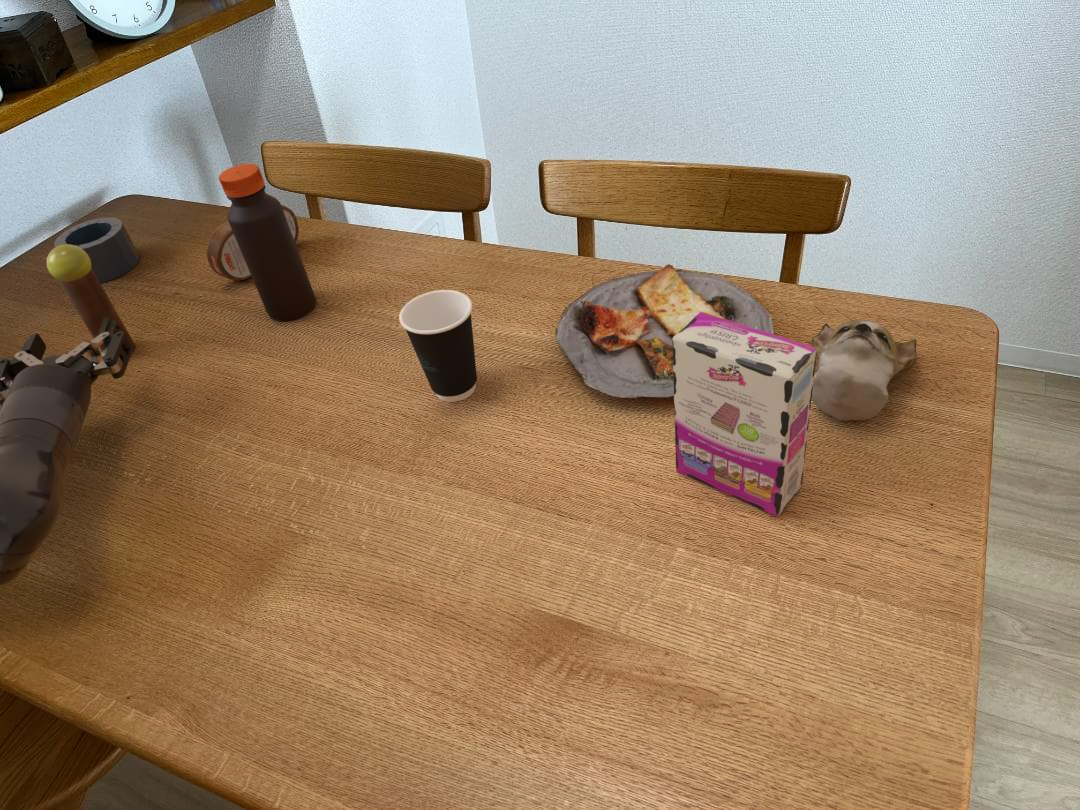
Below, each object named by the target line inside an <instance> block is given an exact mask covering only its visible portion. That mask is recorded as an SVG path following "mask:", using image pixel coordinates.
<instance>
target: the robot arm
mask: <svg viewBox="0 0 1080 810" xmlns="http://www.w3.org/2000/svg"><path fill="white" fill-rule="evenodd" d="M98 334H99V335H98V336H97V337H96V338H93V339H91V340H90V341H86V340H84V341H82V342H81V343H79V344H78V345H77V346H75V347H74V348H73V349H72V350H70V351H67V352H64V353H61V354H59V355H49V356H46V357H44V355H45V352H46V349H47V345H46V343H45V342H44V340H43V338H42V337H41V336H40V334H39V333H32V334H30V335H29V337H28V339H26V341H24V343H23V345H22V346H21V347H22V348H21V349H20V351H18V352H16V353H15V354H14V357H13V358H11V359H9V358H8V357H2V358H0V406H1V407H0V587H1V586H3V585H6V584H9V583H11V582H13V581H14V580H16V578H18V577H19V576H20V575H21V574H22V573H23V572H24V570H25V569H26V567H27V566H28V565H29V564H30V562H31V560H32V559H33V558H34V557H35V555H36V554H37V553H38V551H39V550H40V548H41V547H42V545H43V544H44V543H45V542H46V540H47V539H48V537H49V536H50V535H51V533H52V532H53V529H54V527H55V525H56V523H57V521H58V518H59V515H60V513H61V509H62V504H63V489H64V488H63V485H64V484H63V483H64V482H63V481H64V480H63V478H64V476H65V473H66V470H67V467H68V464H69V461H70V458H71V455H72V452H73V450H74V449H75V447H76V445H77V443H78V441H79V438H80V435H81V432H82V430H83V425H84V423H85V419H86V416H87V413H88V410H89V407H90V403H91V400H92V385H93V384H94V383H95V382H96V381H97V380H98V378H99V377H100V376H105V375H111V377H112V378H113V379H115V380H117V379H121V378H122V377H124V375H125V373H126V370H127V367H128V365H129V362H130V359H131V356H132V354H133V352H134V351H133V348H132V346H131V344H130V342H129V341H128V339H127V337H126V335H125V334H124V332H123V331H121V330H120V328H119V326H118V324H117V323H116V321H115V320H112V318H111V317H107V318H104V319H103V321H102V324H101V327H100V330H99V333H98ZM102 344H103V346H104V347H105V350H104V351H103V352H102V351H101V352H100V349H99V346H100V345H102ZM132 351H133V352H132ZM84 354H87V355H88V357H89V359H90V360H89V359H88V358H87V357H86V356H85V355H84ZM43 357H44V359H43Z"/></svg>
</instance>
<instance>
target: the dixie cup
mask: <svg viewBox="0 0 1080 810" xmlns="http://www.w3.org/2000/svg"><path fill="white" fill-rule="evenodd" d="M472 311H473V302H472V299H471V298H470V297H469V296H468V295H467V294H465V293H463V292H460V291H459V290H452V289H439V290H431V291H427V292H425V293H422V294H419V295H417V296H416V297H414V298H412V299H411V300H409V301H407V303H406V304H405V305H403V307H402V309H401V310H400V312H399V315H398V316H399V317H398V319H399V323H400V325H401V327H402V328H404V329H405V331H406V333H407V336H408V338H409V340H410V343H411V345H412V348H413V350H414V352H415V354H416V357H417V359H418V361H419V363H420V366H421V368H422V370H423V373H424V375H425V378H426V379H427V382H428V384H429V387H430V389H431V391H432V392H433V393H434V394H435V397H437V398H438V399H439V400H440V401H443V402H446V403H455V402H460V401H463V400H466V399H468V398H469V397H470V396H472V395H473V393H474V392H475V391H476V389H477V385H476V384H477V381H478V375H477V374H478V373H477V365H476V363H477V362H476V354H475V340H474V332H473V331H474V330H473V320H472Z"/></svg>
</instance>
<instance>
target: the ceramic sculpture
mask: <svg viewBox="0 0 1080 810" xmlns="http://www.w3.org/2000/svg"><path fill="white" fill-rule="evenodd" d="M810 346H813V347H816V348H817V354H816V358H817V371H816V372H814V380H813V390H812V399H811V401H813V403H814V405H815V406H816V408H817V409H819V410H820V411H821V412H824V413H825V414H828V415H830V416H831V417H833V418H835V419H836V420H838V421H842V422H848V421H849V422H851V421H867V420H870V419H872V418H873V417H875V416H877V415H878V414H879V413H880V412H881V410H883V408H884V407H885V406H886V404H887V402H888V400H889V393H888V389H887V388H888V385H889V383H890V380H891V379H893V378H894V377H896V376H899V375H901V374H903V373H906V372H907V371H909V370H911V369H912V367H914V365H915V364H916V362H917V361H918V354H917V339H916V338H914V339H911V340H909V341H905V342H899V341H895V340H894V336H893V335H892V333H891V332H890V331H889V329H887V328H886V327H885V326H883V325H882V324H880V323H877V322H874V321H869V320H863V319H851V320H847V321H846V322H843V323H841V324H840V325H838V326H837V327H836V328H835V329H833V328H832V327H830V325H829V324H828V323H827V322H825V323H824V324H823V325H822V328H821V329H820V331H819V332H818V334H815V336H813V337H812V338H811V344H810Z"/></svg>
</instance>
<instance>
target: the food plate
mask: <svg viewBox="0 0 1080 810" xmlns="http://www.w3.org/2000/svg"><path fill="white" fill-rule="evenodd" d="M700 312H704V313H707V314H710V315H713V316H717V317H720V318H723V319H726V320H730V321H733V322H736V323H739V324H742V325H745V326H749V327H752V328H755V329H758V330H761V331H765V332H768V333H771V334H774V335H776V334H775V328H774V325H773V323H774V322H773V319H772V318H773V317H772V316H771V315H770V312H769V311H768V309H766V307H764V306H763V305H762V304H761V303H760V302H759V301H757V300H756V298H754V297H753V296H752V295H751V294H749V293H748V292H746V291H745V290H744V289H743V288H741V287H740V286H738V285H737V284H736V283H734V282H733V281H731V280H729V279H726V278H724V277H721V276H718V275H715V274H708V273H704V272H694V271H693V272H691V271H687V270H682V269H679V268H678V269H675V267H674V266H673V265H672V264H671V263H669V264H666V265H665V266H664V267H663V268H661V269H660V270H658V271H653V270H651V271H642V272H639V273H632V274H629V275H626V276H621V277H616V278H611V279H609V280H607V281H605V282H602V283H600V284H597V285H595V286H593V287H592V288H590V289H588V290H587V291H585V293H583V294H581V295H580V296H579V297H577V298H576V299H575V300H574V301H572V302H571V303H569V304H568V305H567V306H566V307H565V308H564V310H563V311H562V315H561V316H560V320H559V322H558V323H557V326H556V328H555V333H554V334H555V342H557V344H558V345H559V346H560V349H562V351H563V352H564V354H565V355H566V357H567V358H568V360H569V362H570V363H572V365H573V367H574V369H575V370H576V372H578V373H579V375H581V378H582V380H583V382H584V383H585V386H587V387H589V388H591V389H593V390H595V391H598V392H600V393H602V394H606V395H608V396H611V397H615V398H621V399H622V398H623V399H625V398H630V399H634V398H635V399H637V398H640V397H645V398H648V397H649V398H671V397H674V375H673V348H672V338H673V337H674V336H675V335H676V334H677V333H678V332H679V331H680V330H682V329H683V328H684V327H685V326H687V325H688V324H689V322H690V321H691V320H692V319H693V318H694V317H695V316H696V315H698V314H699V313H700Z"/></svg>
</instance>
